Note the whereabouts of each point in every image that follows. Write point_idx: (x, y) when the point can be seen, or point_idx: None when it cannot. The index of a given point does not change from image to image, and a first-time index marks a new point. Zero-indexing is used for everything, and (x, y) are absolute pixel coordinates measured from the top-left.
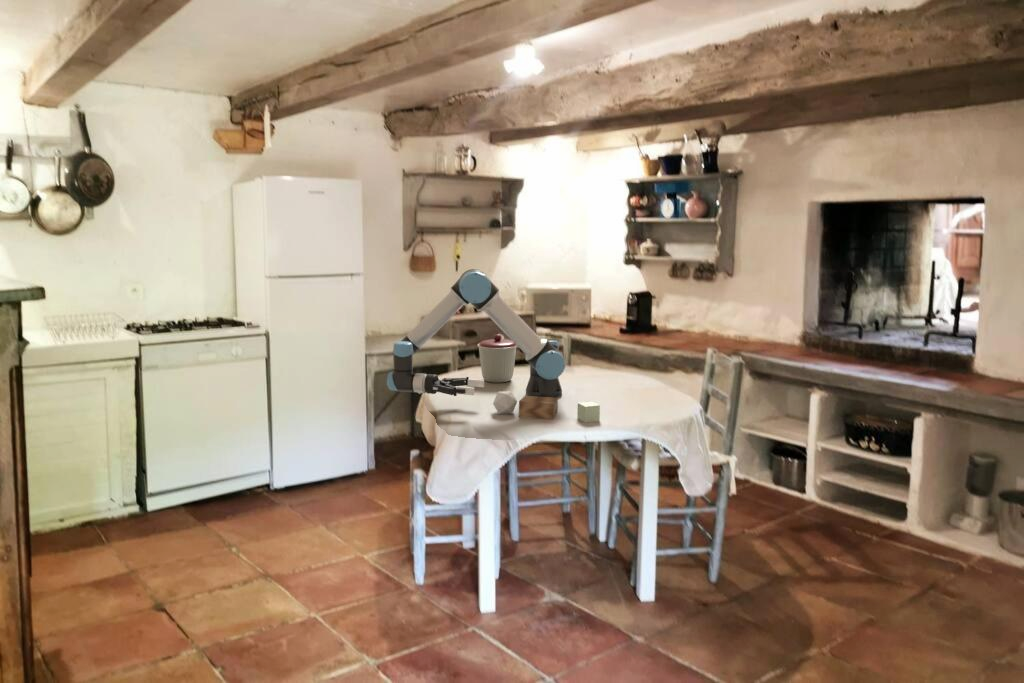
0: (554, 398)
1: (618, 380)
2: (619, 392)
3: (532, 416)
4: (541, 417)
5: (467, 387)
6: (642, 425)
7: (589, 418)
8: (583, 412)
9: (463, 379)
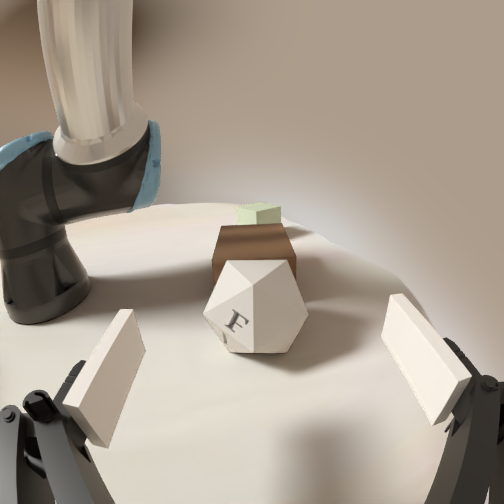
0: (230, 227)
1: None
2: (77, 238)
3: None
4: None
5: (420, 321)
6: None
7: None
8: (275, 220)
9: (61, 448)
